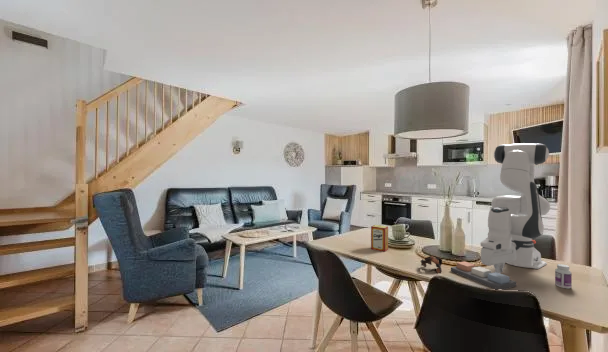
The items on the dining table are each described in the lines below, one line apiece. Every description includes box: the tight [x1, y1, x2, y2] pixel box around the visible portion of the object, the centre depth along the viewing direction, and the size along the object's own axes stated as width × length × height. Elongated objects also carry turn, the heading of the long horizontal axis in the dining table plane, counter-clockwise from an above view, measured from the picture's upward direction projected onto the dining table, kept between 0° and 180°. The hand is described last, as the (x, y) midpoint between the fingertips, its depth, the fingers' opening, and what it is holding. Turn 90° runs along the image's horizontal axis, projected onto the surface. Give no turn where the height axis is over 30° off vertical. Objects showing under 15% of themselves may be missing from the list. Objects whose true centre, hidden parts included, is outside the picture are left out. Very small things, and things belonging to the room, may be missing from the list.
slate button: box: [488, 271, 511, 284], centre depth 120 cm, size 6×6×3 cm
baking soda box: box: [370, 224, 389, 252], centre depth 175 cm, size 10×6×16 cm
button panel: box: [450, 265, 517, 290], centre depth 127 cm, size 12×24×2 cm, turn 22°
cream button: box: [472, 266, 492, 278], centre depth 127 cm, size 6×6×3 cm
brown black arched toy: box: [420, 255, 443, 274], centre depth 139 cm, size 12×10×8 cm
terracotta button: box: [456, 260, 476, 272], centre depth 135 cm, size 6×6×3 cm
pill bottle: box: [554, 263, 573, 289], centre depth 118 cm, size 5×5×10 cm
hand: (498, 272), depth 119 cm, fingers closed
